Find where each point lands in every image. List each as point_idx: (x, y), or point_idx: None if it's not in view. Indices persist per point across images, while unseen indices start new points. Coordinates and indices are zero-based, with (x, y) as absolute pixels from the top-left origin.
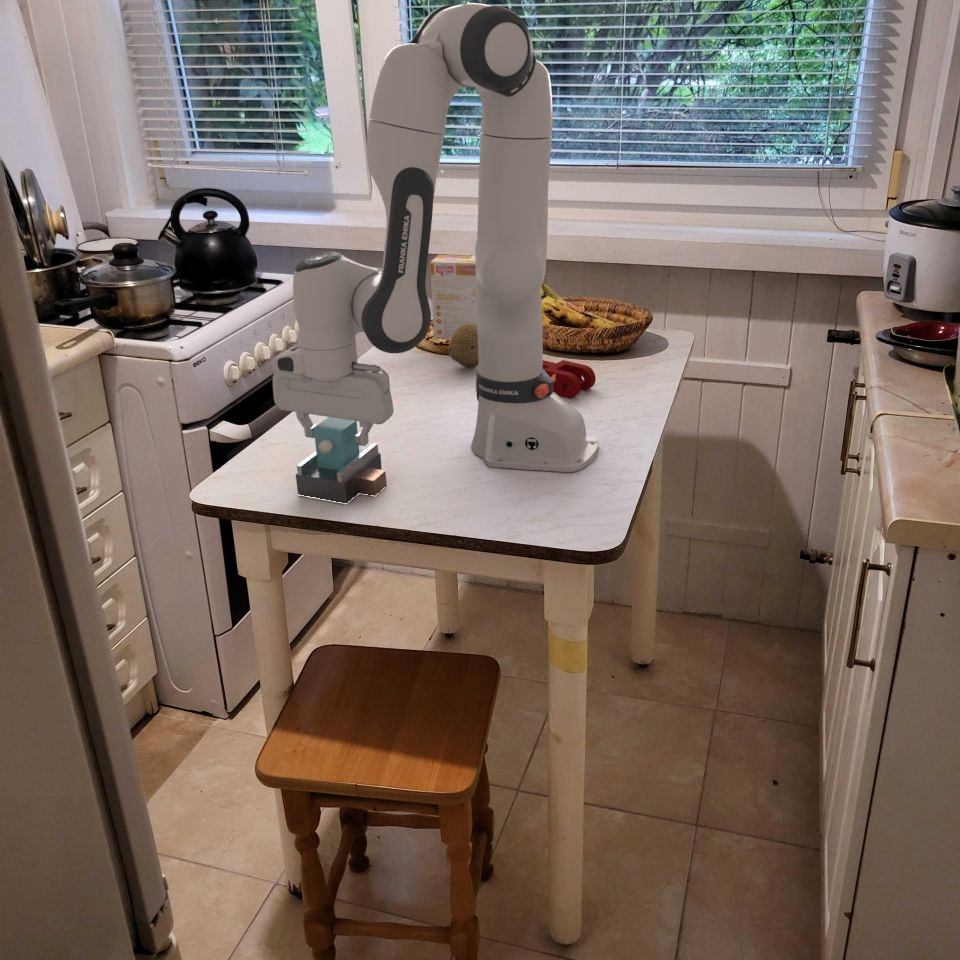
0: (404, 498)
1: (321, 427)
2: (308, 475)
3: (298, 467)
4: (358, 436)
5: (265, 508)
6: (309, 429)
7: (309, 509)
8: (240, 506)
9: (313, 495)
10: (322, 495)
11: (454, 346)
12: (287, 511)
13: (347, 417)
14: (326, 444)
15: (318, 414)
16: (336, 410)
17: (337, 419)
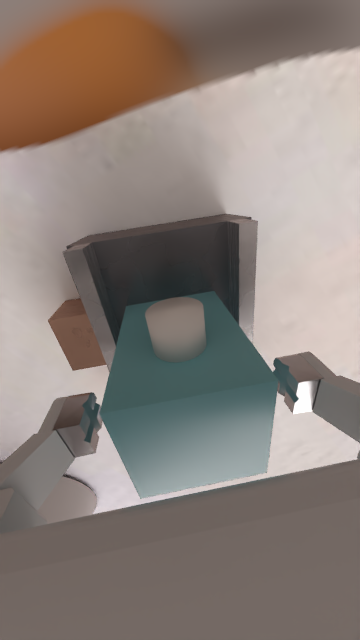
0: (10, 327)
1: (237, 399)
2: (207, 231)
3: (247, 221)
4: (61, 427)
5: (272, 94)
6: (307, 378)
7: (154, 162)
8: (351, 62)
9: (182, 221)
10: (155, 226)
11: None
12: (201, 113)
13: (34, 551)
14: (159, 321)
15: (296, 481)
16: (125, 611)
17: (219, 472)
